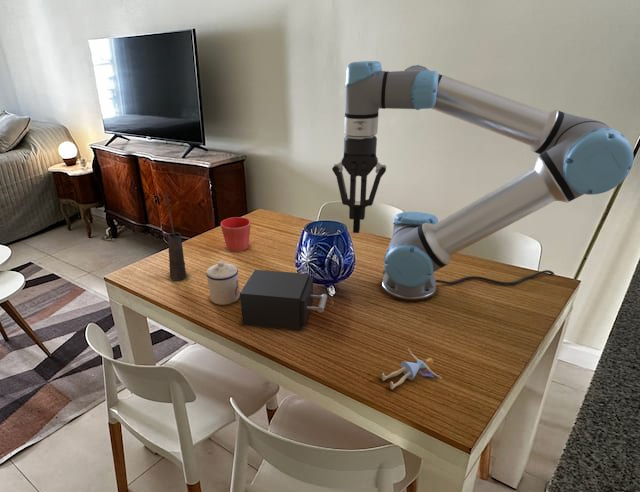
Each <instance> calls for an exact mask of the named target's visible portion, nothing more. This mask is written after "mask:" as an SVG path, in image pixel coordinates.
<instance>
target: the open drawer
mask: <svg viewBox="0 0 640 492" xmlns="http://www.w3.org/2000/svg"><path fill="white" fill-rule="evenodd" d="M328 297H329V296H328V295H327V294H326V293H322V294H319V295H318V294H314V277H309V279H308V281H307V284H306V286H305V289H304V291H303V293H302V296H301V298H300V326H301V328H302V327H303V328H305V327H306V325H307V322H308V319H309V316H310V313H311V310H312V311H317V312H318V313H323V312H324V310H325V308H326V304H327V300H328ZM314 299H320V300H319V304H318V306H313V304H314Z"/></svg>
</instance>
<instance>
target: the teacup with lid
mask: <svg viewBox="0 0 640 492" xmlns="http://www.w3.org/2000/svg"><path fill="white" fill-rule="evenodd" d="M238 274H239V269H238V267H237V266H236V265H234V264H232V263H228V262H225V261H223V260H219V261H218V262H217V263H216V264H213V265H211V266H209V267H208V268H207V270H206V273H205V276H206V277H207V284H208V291H209V298H210V301H211V302H212V303H214V304H215V305H220V306H221V305H222V306H223V305H231V304H234V303H235V302H237V301H238V300H240V287H239V286H240V285H239V275H238Z"/></svg>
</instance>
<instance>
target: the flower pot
mask: <svg viewBox="0 0 640 492" xmlns="http://www.w3.org/2000/svg"><path fill="white" fill-rule="evenodd" d="M251 224H252V222H251V220H250V219H249V218H248V217H242V216H233V217H229V218H225V219H223V220H222V221H220V228H221V231H222V235H223V238H224V242H225V245H226V248H227V250H228V251H231V252H243V251H246V250H247V249H248V248H249V243H250V234H251V226H252V225H251Z"/></svg>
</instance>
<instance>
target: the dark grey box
mask: <svg viewBox="0 0 640 492" xmlns="http://www.w3.org/2000/svg"><path fill="white" fill-rule="evenodd" d="M309 278H310V273H307V272H306V273H304V272H292V271H277V270H264V269H254V270H253V271H252V273H251V275H250V276H249V278H248V280H247V281H246V283H245V284H244V286H243V287H242V289H241V290H240V291H239V294H240V296H239V301H240V311H241V312H240V313H241V321H242V325H246V326H252V327H253V326H254V327H261V328H262V327H264V328H272V329H283V330H291V331H301V328H302V326H300V298H301V296H302V293H303V291H304V289H305V286H306V284H307V281H308V279H309Z"/></svg>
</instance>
